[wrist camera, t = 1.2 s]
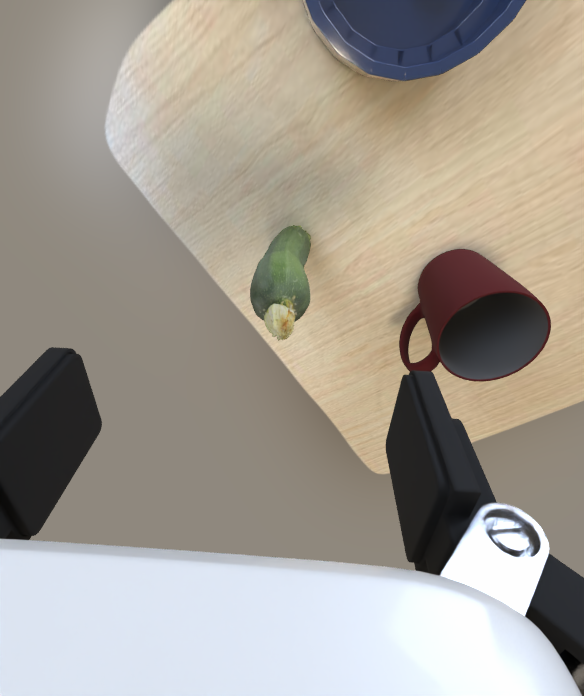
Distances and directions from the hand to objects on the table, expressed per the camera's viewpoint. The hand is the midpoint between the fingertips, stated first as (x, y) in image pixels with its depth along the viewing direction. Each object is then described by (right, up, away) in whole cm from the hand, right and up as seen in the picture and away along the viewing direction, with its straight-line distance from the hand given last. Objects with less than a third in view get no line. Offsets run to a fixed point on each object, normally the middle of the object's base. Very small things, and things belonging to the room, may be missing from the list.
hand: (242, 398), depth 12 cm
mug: (+17, +8, +31) cm, 36 cm away
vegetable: (+1, +13, +28) cm, 31 cm away
